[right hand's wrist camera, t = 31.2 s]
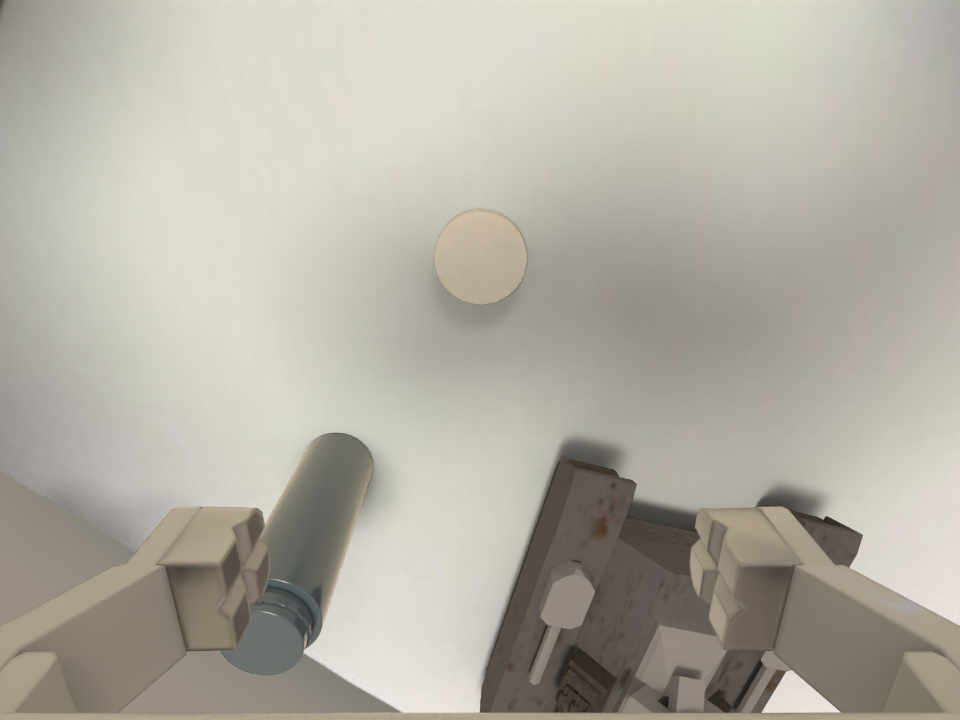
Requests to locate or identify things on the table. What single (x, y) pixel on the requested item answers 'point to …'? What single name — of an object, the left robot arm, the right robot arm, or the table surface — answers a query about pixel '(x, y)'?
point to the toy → (623, 613)
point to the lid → (480, 257)
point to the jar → (305, 553)
